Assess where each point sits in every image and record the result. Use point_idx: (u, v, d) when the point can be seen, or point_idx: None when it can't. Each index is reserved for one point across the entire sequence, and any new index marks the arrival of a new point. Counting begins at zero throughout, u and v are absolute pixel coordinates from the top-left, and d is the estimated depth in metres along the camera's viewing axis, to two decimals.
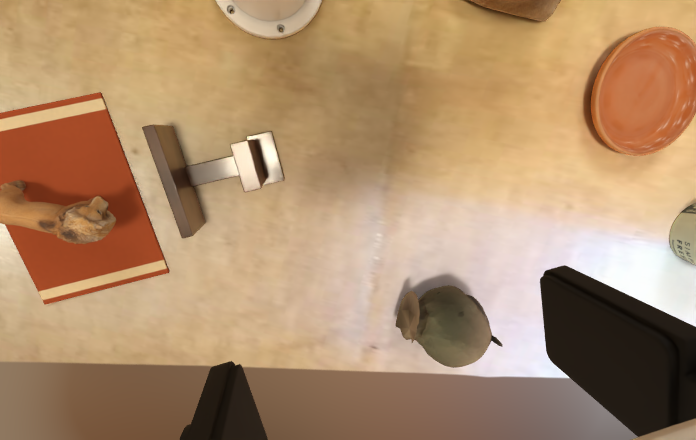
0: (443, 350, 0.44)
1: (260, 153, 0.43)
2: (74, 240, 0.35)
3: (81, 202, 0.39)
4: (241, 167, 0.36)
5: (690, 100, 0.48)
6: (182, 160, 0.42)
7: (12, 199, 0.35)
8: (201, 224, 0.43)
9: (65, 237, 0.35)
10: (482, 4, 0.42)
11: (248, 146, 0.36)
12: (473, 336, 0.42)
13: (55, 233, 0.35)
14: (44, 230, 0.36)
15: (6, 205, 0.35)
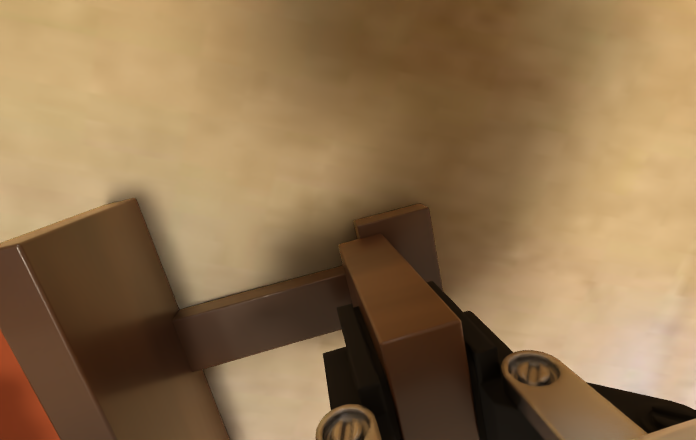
0: None
1: None
2: None
3: None
4: (421, 432, 0.08)
5: None
6: (165, 301, 0.14)
7: None
8: None
9: None
10: None
11: (461, 345, 0.08)
12: None
13: None
14: None
15: None
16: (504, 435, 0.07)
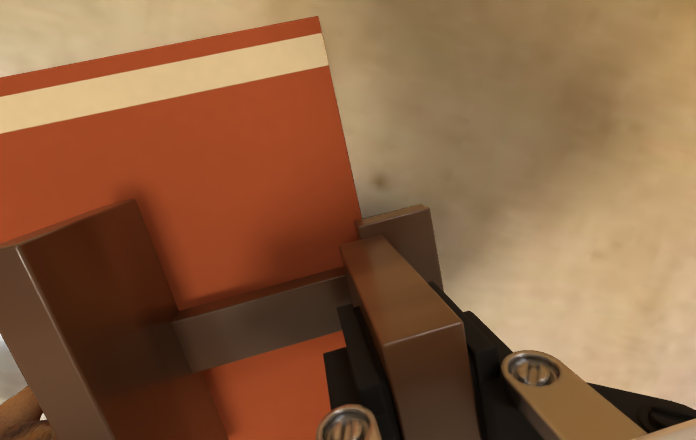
0: None
1: None
2: None
3: (11, 408, 0.12)
4: (424, 434, 0.08)
5: None
6: (165, 302, 0.14)
7: None
8: None
9: None
10: None
11: (463, 347, 0.08)
12: None
13: None
14: None
15: None
16: (504, 435, 0.07)
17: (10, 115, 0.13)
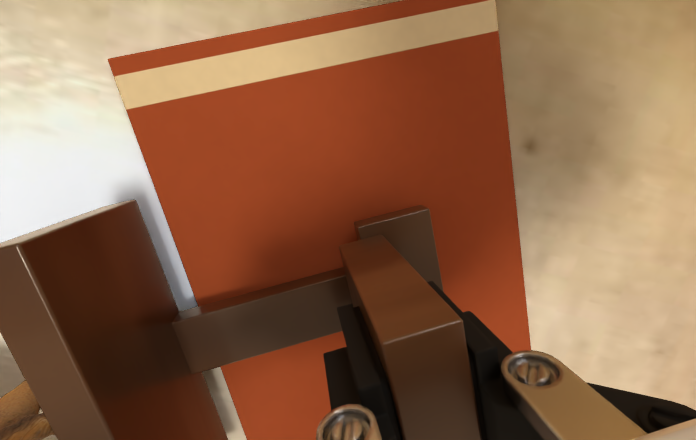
0: None
1: None
2: None
3: (9, 402, 0.12)
4: (424, 433, 0.08)
5: None
6: (165, 303, 0.14)
7: None
8: None
9: None
10: None
11: (463, 345, 0.08)
12: None
13: None
14: None
15: None
16: (504, 435, 0.07)
17: (212, 76, 0.13)
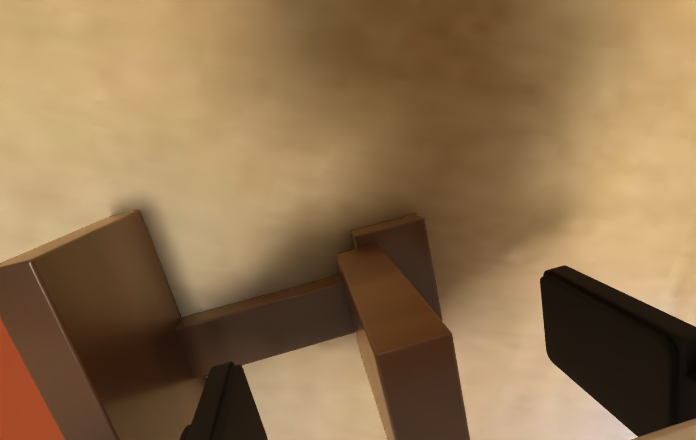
0: None
1: None
2: None
3: None
4: (415, 439, 0.08)
5: None
6: (168, 310, 0.14)
7: None
8: None
9: None
10: None
11: (452, 356, 0.08)
12: None
13: None
14: None
15: None
16: None
17: None
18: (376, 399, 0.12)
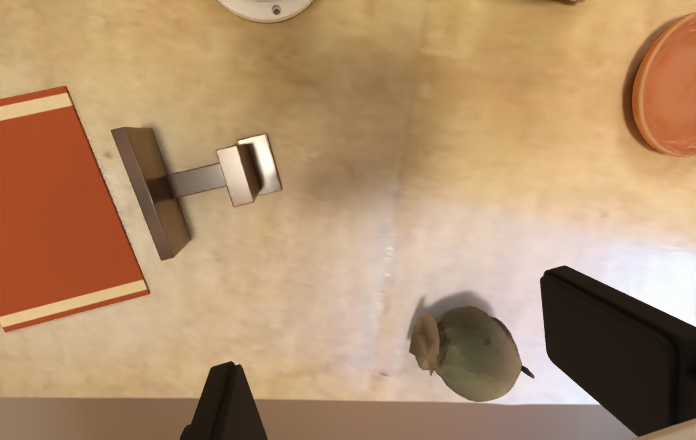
0: (466, 383, 0.38)
1: (253, 159, 0.37)
2: None
3: None
4: (229, 177, 0.30)
5: None
6: (163, 168, 0.36)
7: None
8: (185, 242, 0.37)
9: None
10: None
11: (237, 152, 0.30)
12: (502, 368, 0.36)
13: None
14: None
15: None
16: None
17: None
18: None
